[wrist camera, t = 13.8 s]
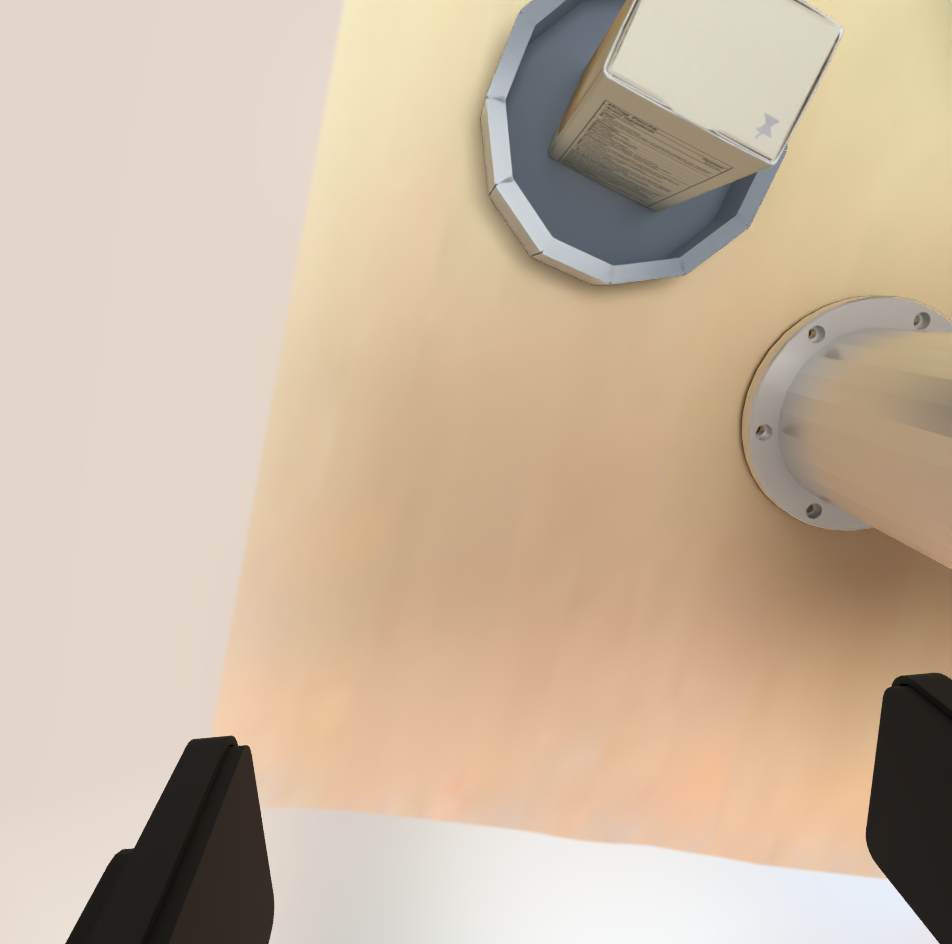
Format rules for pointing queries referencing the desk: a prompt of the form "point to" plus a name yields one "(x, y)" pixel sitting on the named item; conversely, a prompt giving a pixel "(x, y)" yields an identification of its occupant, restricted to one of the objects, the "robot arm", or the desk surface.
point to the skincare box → (693, 95)
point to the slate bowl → (573, 195)
